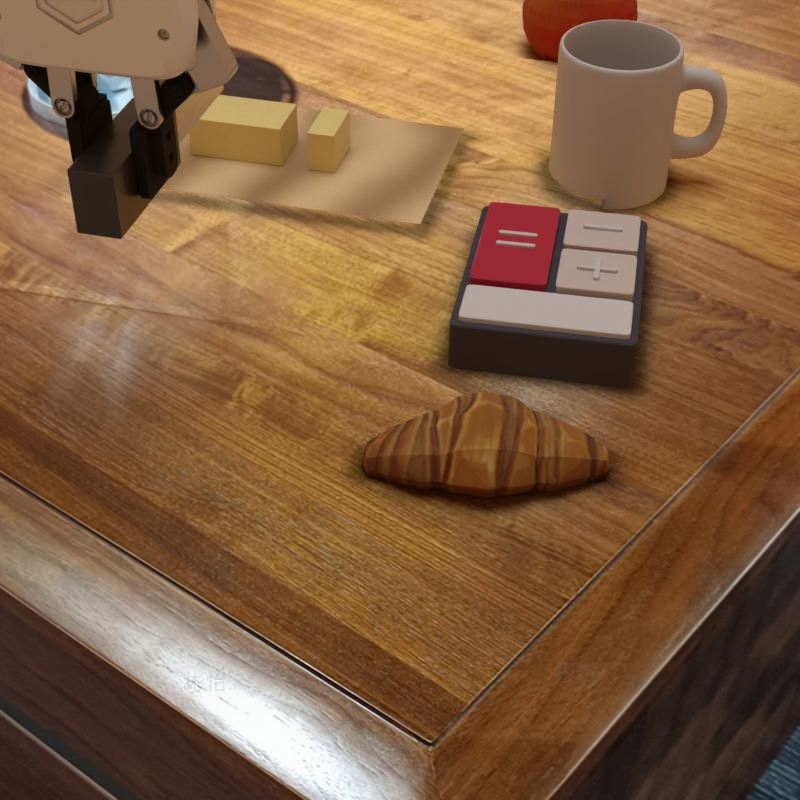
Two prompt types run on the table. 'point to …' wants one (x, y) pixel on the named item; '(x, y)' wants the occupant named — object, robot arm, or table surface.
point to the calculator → (551, 295)
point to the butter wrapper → (352, 182)
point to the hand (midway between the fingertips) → (128, 179)
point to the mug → (625, 111)
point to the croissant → (486, 450)
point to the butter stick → (246, 130)
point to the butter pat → (328, 140)
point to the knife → (121, 170)
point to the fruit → (567, 20)
